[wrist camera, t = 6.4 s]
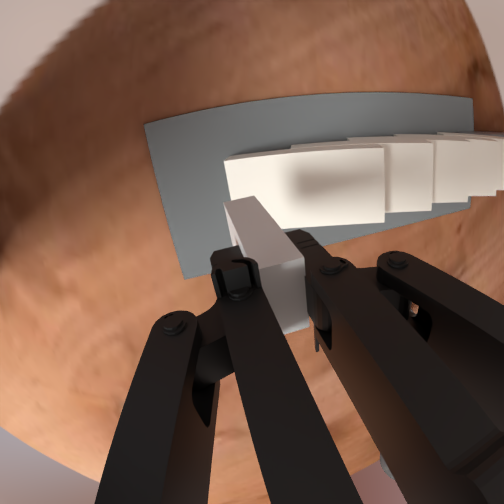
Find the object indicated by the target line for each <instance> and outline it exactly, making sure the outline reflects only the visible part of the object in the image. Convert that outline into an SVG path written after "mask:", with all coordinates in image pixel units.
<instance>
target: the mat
mask: <svg viewBox="0 0 504 504" xmlns="http://www.w3.org/2000/svg"><path fill="white" fill-rule="evenodd" d="M144 128H145V133H146V138H147V142H148V147H149V151H150V155H151V159H152V164H153V168H154V172H155V176H156V180H157V184H158V188H159V192H160V196H161V200H162V203H163V207H164V211H165V215H166V218H167V222H168V225H169V229H170V233H171V236H172V240H173V243H174V246H175V250H176V253H177V257H178V260H179V263H180V267H181V270H182V273H183V276H184V279H189V278H194V277H198V276H202V275H206V274H210V273H211V271H212V266H211V262H210V257H211V255H212V254H213V252H214V251H216V250H220V249H224V248H228V247H232V246H233V245H232V240H231V236H230V231H229V226H228V222H227V217H226V212H225V208H224V203H223V202H227V201H231V197H230V192H229V187H228V181H227V176H226V171H225V165H224V160H226V159H227V158H228V157H229V156H234V155H241V154H249V153H257V152H266V151H275V150H284V149H291V145H296V144H308V143H320V142H335V141H347V138H350V137H380V136H394V134H429V135H437V132H447V133H457V132H456V131H474V117H473V98H465V97H456V96H446V95H434V94H419V93H394V92H358V93H332V94H316V95H303V96H293V97H283V98H275V99H267V100H259V101H252V102H245V103H239V104H233V105H227V106H222V107H216V108H211V109H206V110H201V111H196V112H192V113H187V114H183V115H178V116H174V117H170V118H166V119H162V120H158V121H154V122H150V123H147V124H144ZM470 204H471V196H468V202H451V203H432V209H431V211H414V212H393V213H385V221H384V223H367V224H350V225H333V226H318V227H303V228H288V229H282V230H283V231H284V233H285V232H289V231H293V230H298V229H301V230H303V231H306V232H308V233H310V234H311V235H312V236H313V237H314V238H315V240H317V241H318V242H319V244H320V245H321V246H325V245H329V244H333V243H337V242H341V241H345V240H349V239H353V238H357V237H361V236H365V235H369V234H373V233H377V232H380V231H384V230H388V229H392V228H396V227H400V226H404V225H408V224H412V223H415V222H419V221H423V220H427V219H431V218H435V217H438V216H442V215H446V214H450V213H454V212H457V211H461V210H465V209H469V208H470Z"/></svg>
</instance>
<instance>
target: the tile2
mask: <svg viewBox="0 0 504 504" xmlns="http://www.w3.org/2000/svg"><path fill="white" fill-rule="evenodd" d="M355 144H379V145H380V146H382V147H383V148H384V172H385V213H393V212H414V211H431V209H432V192H433V143H431V142H429V141H427V140H420V139H389V140H355V141H335V142H320V143H308V144H296V145H291V149H295V148H307V147H320V146H335V145H355Z"/></svg>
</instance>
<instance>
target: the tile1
mask: <svg viewBox="0 0 504 504" xmlns="http://www.w3.org/2000/svg"><path fill="white" fill-rule="evenodd" d="M224 165H225V171H226V176H227V181H228V187H229V192H230V197H231V201H232V200H236V199H240V198H245V197H249V196H255V197H256V198H257V200H258V201H259V202H260V203H261V204H262V206H263V207H264V208H265V209H266V210H267V212H268V213H269V214H270V215H271V217H272V218H273V219H274V220H275V222H276V223H277V224H278V225H279V226H280V228H281V229H288V228H303V227H318V226H333V225H350V224H367V223H384V221H385V172H384V148H383V147H382V146H380V145H379V144H355V145H335V146H320V147H307V148H295V149H284V150H275V151H266V152H257V153H249V154H241V155H234V156H229V157H228V158H227V159H226V160H224Z"/></svg>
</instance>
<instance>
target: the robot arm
mask: <svg viewBox="0 0 504 504" xmlns="http://www.w3.org/2000/svg"><path fill="white" fill-rule="evenodd" d="M223 203H224V208H225V212H226V217H227V222H228V226H229V231H230V236H231V240H232V245H233V246H232V247H228V248H224V249H220V250H216V251H214V252H213V254H212V255H211V257H210V262H211V266H212V271H211V278H212V281H213V285H214V289H215V292H216V296H217V300H216V303H215V304H214V305H213V306H212V307H211V308H210V309H209V310H208V311H206V312H204V313H203V314H201V315H199V316H195V315H194V314H193V313H191V312H188V311H174V312H170V313H168V314H166V315H164V316H162V317H161V318H160V319H158V320H157V321H156V322H155V324H154V325H153V327H152V329H151V332H150V334H149V337H148V340H147V342H146V345H145V348H144V350H143V353H142V356H141V358H140V361H139V364H138V366H137V369H136V372H135V375H134V378H133V380H132V383H131V386H130V389H129V392H128V395H127V398H126V401H125V403H124V406H123V409H122V412H121V415H120V418H119V422H118V425H117V428H116V431H115V434H114V437H113V440H112V444H111V447H110V450H109V454H108V457H107V460H106V464H105V467H104V471H103V474H102V478H101V481H100V485H99V489H98V492H97V496H96V500H95V504H208V493H209V483H210V473H211V464H212V454H213V444H214V435H215V426H216V417H217V408H218V399H219V390H220V379H222V378H224V377H226V376H228V375H230V374H231V373H233V372H235V376H236V380H237V384H238V388H239V392H240V396H241V400H242V403H243V407H244V411H245V415H246V418H247V422H248V426H249V430H250V433H251V437H252V441H253V444H254V448H255V451H256V455H257V458H258V462H259V465H260V469H261V472H262V475H263V479H264V482H265V485H266V489H267V492H268V495H269V499H270V502H271V504H363V502H362V500H361V498H360V496H359V494H358V492H357V490H356V487H355V485H354V483H353V481H352V479H351V477H350V475H349V473H348V471H347V468H346V466H345V464H344V462H343V460H342V458H341V456H340V454H339V451H338V449H337V447H336V445H335V443H334V441H333V439H332V437H331V434H330V432H329V430H328V428H327V426H326V424H325V422H324V420H323V417H322V415H321V413H320V411H319V409H318V407H317V405H316V403H315V400H314V398H313V396H312V394H311V392H310V390H309V388H308V385H307V383H306V381H305V379H304V377H303V375H302V373H301V370H300V368H299V366H298V364H297V362H296V360H295V357H294V355H293V353H292V351H291V349H290V347H289V345H288V342H287V340H286V338H285V336H284V334H287V333H290V332H294V331H297V330H300V329H304V328H307V327H309V316H310V317H311V319H312V321H313V322H314V338H315V350H316V352H318V351H319V344H320V345H321V347H322V349H323V351H324V353H325V354H326V356H327V358H328V360H329V361H330V363H331V365H332V367H333V368H334V370H335V372H336V374H337V376H338V377H339V379H340V381H341V383H342V385H343V386H344V388H345V390H346V392H347V394H348V395H349V397H350V399H351V401H352V402H353V404H354V406H355V408H356V410H357V411H358V413H359V415H360V417H361V419H362V421H363V422H364V424H365V426H366V428H367V430H368V431H369V433H370V435H371V437H372V439H373V441H374V442H375V444H376V446H377V448H378V450H379V451H380V453H381V455H382V457H383V459H384V461H385V462H386V464H387V466H388V468H389V470H390V472H391V474H392V475H393V477H394V479H395V481H396V482H397V485H398V487H399V488H400V490H401V492H402V494H403V496H404V498H405V500H406V501H407V504H504V305H502V304H500V303H499V302H497V301H495V300H494V299H492V298H490V297H488V296H487V295H485V294H483V293H481V292H480V291H478V290H476V289H474V288H473V287H471V286H469V285H467V284H465V283H464V282H462V281H460V280H458V279H456V278H454V277H453V276H451V275H449V274H447V273H445V272H443V271H441V270H439V269H438V268H436V267H434V266H432V265H430V264H428V263H426V262H424V261H422V260H420V259H418V258H416V257H414V256H412V255H410V254H408V253H405V252H400V251H390V252H386V253H383V254H382V255H380V256H379V257H378V260H377V267H369V268H356V267H355V266H354V265H353V264H352V263H351V262H350V261H348V260H347V259H344V258H340V257H332V256H331V255H330V254H329V253H328V252H327V251H326V250H325V249H324V248H323V247H322V246H321V245H320V244H319V242H318V241H317V240H315V238H314V237H313V236H312V235H311V234H310V233H308V232H306V231H303V230H301V229H298V230H293V231H289V232H285V233H284V231H283V230H282V229H281V228H280V226H279V225H278V224H277V223H276V222H275V220H274V219H273V218H272V217H271V215H270V214H269V213H268V212H267V210H266V209H265V208H264V207H263V206H262V204H261V203H260V202H259V201H258V200H257V198H256V197H255V196H249V197H245V198H240V199H236V200H232V201H227V202H223ZM412 302H413V303H415V304H416V305H418V306H419V308H418V313H417V314H415V313H413V312H411V311H410V310H411V304H412Z"/></svg>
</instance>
